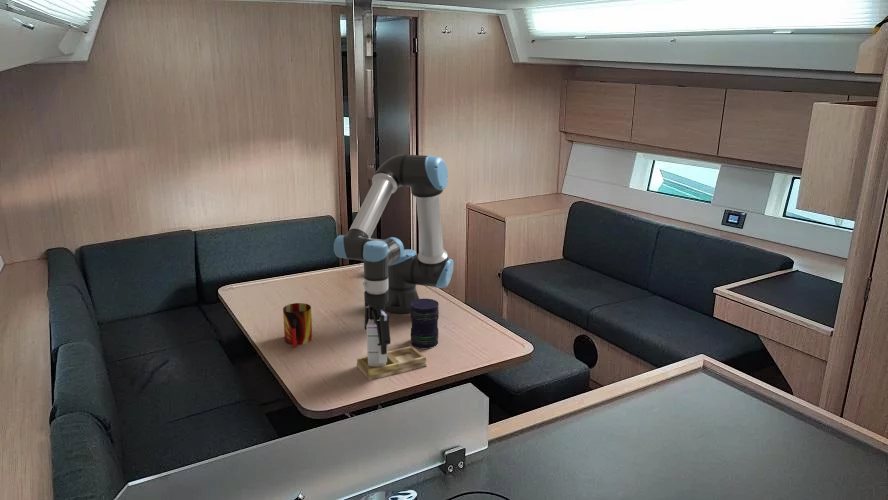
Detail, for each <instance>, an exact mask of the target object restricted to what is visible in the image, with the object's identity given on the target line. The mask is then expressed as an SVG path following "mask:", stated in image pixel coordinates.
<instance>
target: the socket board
mask: <svg viewBox="0 0 888 500" xmlns="http://www.w3.org/2000/svg"><path fill="white" fill-rule="evenodd" d="M356 361H357V362H356V367H357V368H358V369H359V370H360V371H361V373H363V374H364V376H365V377H367V378H368V380H369V381H373V380H376V379H377V380H378V379H381V378H384V377H385V378H386V377H389V376H393V375H397V374H402V373H404V372H405V373H406V372H410V371H412V369H414V370H417V369H416V368H418V369H421V368H420V367H422V368H424V367H423V366H426V367H427V357H426V356H425V355H424V354H422V353H421V352H420V351H419V350H417V348H416V347H414V346H412V345H410V346H405V347H401V348H397V349H393V350H387V362H386V365H385V366H381V367H373V366H368V355H365V356H361V357H357V358H356ZM409 370H410V371H409Z"/></svg>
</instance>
